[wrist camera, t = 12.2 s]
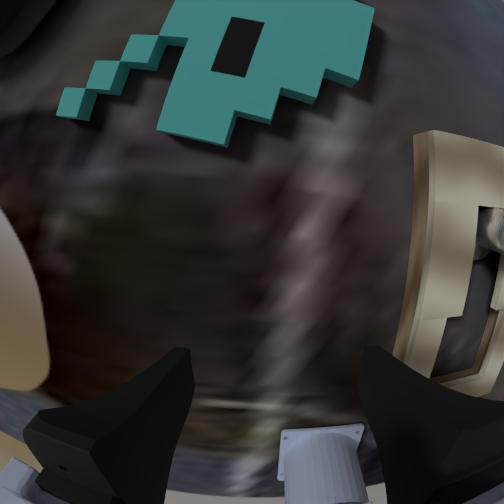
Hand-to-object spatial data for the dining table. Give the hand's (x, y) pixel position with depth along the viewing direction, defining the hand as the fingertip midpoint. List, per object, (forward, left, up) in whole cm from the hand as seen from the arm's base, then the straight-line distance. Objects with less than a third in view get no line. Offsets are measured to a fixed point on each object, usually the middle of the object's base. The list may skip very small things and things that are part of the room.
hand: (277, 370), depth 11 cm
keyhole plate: (0, -16, -9) cm, 19 cm away
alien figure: (+20, +3, -10) cm, 23 cm away
